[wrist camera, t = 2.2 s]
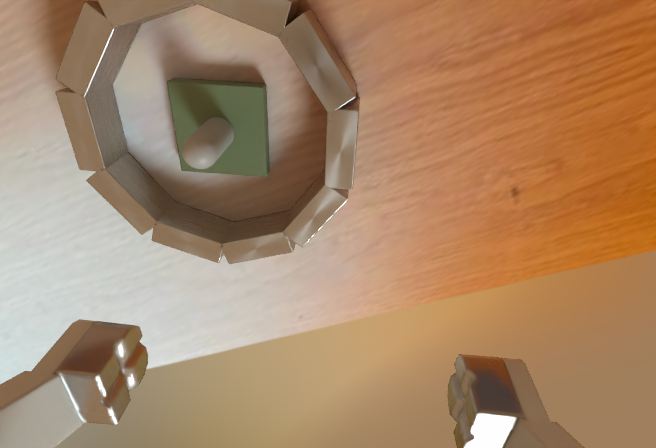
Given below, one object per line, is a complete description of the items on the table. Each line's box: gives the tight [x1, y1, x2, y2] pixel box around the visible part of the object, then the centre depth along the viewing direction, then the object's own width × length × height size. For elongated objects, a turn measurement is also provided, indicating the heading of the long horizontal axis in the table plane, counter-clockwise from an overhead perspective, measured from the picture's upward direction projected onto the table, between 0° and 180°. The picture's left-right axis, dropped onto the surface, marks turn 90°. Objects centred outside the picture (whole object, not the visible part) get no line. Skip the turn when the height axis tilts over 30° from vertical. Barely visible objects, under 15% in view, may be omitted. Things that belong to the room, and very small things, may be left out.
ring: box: [56, 0, 360, 264], centre depth 25 cm, size 18×18×3 cm
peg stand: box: [167, 78, 270, 177], centre depth 24 cm, size 6×6×6 cm
